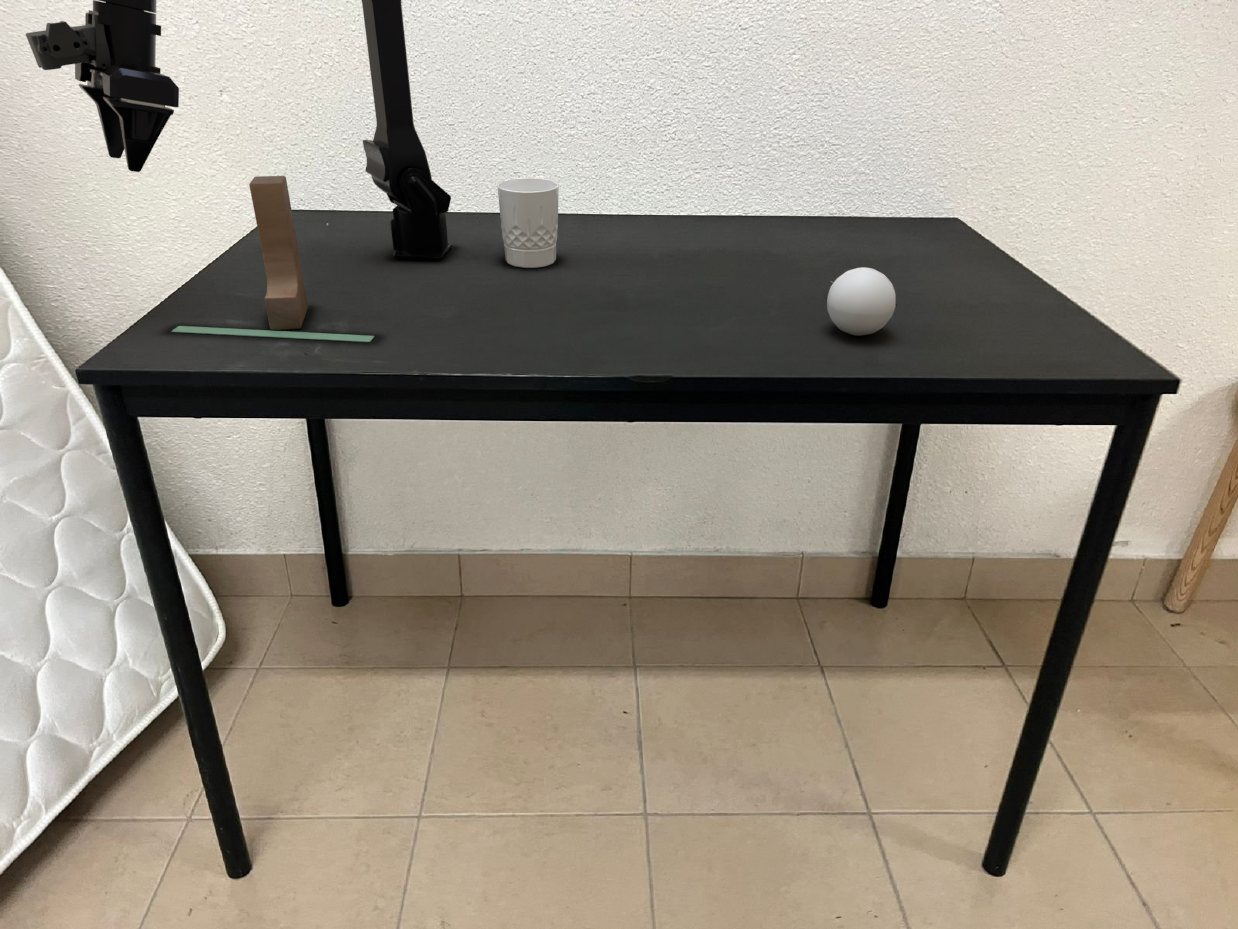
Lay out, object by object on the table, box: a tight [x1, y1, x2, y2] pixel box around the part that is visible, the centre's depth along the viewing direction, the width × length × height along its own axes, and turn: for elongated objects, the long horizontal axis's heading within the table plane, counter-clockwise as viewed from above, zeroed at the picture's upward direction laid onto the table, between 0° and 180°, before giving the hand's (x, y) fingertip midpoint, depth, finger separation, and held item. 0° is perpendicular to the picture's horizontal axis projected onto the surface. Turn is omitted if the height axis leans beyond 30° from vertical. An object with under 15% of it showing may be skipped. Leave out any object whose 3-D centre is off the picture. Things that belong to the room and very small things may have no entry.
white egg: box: [825, 266, 897, 337], centre depth 99 cm, size 10×7×7 cm
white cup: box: [496, 177, 560, 269], centre depth 117 cm, size 8×8×10 cm
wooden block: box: [248, 175, 309, 331], centre depth 96 cm, size 7×3×15 cm, turn 10°
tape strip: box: [170, 325, 375, 343], centre depth 96 cm, size 22×2×1 cm, turn 85°
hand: (124, 164), depth 97 cm, fingers open, 9 cm apart
